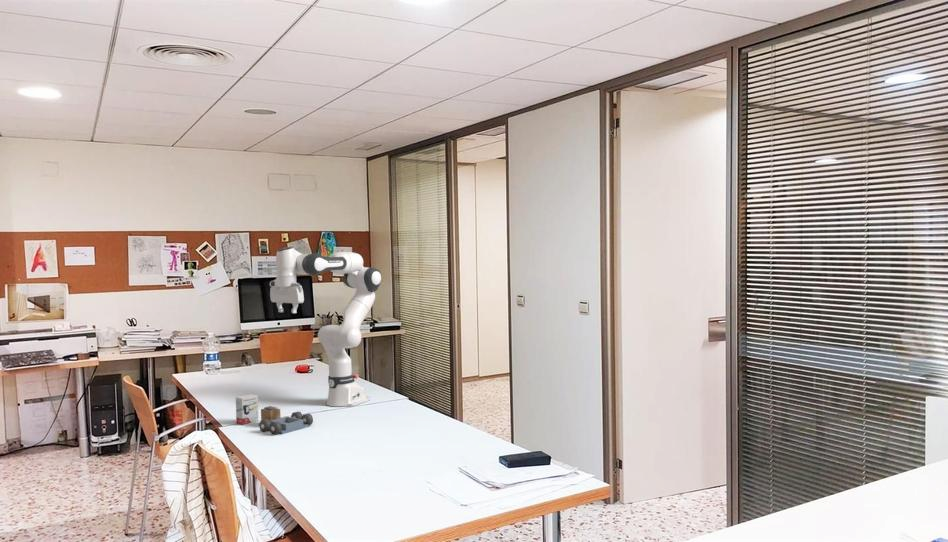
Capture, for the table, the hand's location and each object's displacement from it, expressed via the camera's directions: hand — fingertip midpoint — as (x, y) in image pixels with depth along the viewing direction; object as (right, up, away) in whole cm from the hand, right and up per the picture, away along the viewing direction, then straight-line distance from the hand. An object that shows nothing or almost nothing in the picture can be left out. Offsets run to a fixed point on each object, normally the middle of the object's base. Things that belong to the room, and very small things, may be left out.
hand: (287, 312), depth 311 cm
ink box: (-16, -49, -7) cm, 52 cm away
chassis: (+5, -49, -19) cm, 53 cm away
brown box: (-4, -49, -13) cm, 50 cm away
